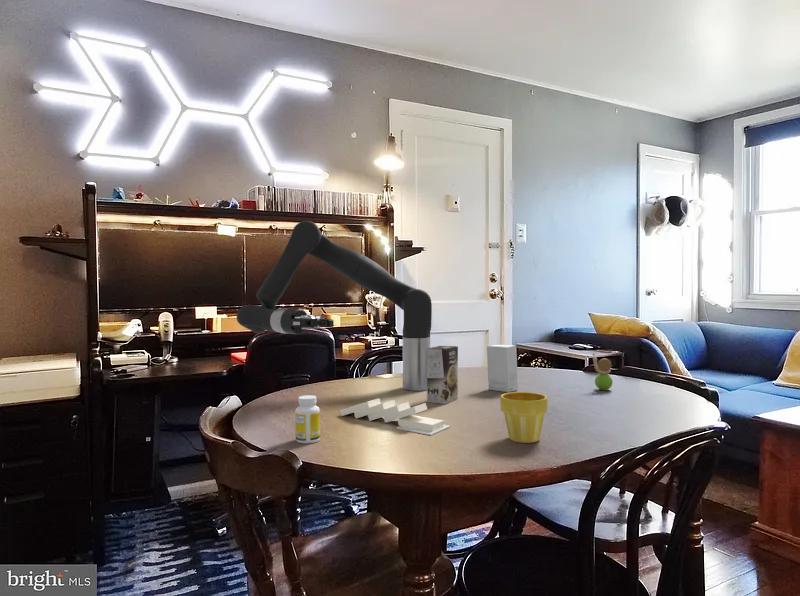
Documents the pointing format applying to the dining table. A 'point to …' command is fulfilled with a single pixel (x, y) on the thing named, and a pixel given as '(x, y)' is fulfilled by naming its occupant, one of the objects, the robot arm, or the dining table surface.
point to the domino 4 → (405, 412)
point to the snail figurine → (603, 373)
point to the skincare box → (502, 368)
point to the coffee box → (442, 374)
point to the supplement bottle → (307, 420)
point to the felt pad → (422, 430)
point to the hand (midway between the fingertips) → (331, 323)
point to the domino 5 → (421, 423)
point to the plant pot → (524, 415)
